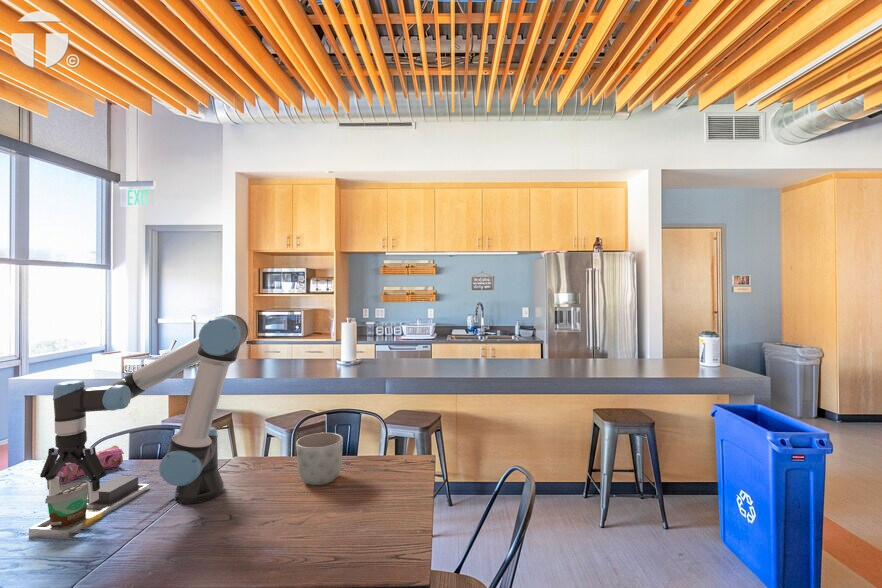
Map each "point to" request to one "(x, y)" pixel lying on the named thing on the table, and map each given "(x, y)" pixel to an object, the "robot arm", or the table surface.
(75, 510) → the food container
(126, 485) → the grey rectangular box
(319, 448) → the planter
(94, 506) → the rack
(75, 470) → the pencil case
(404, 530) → the table surface
